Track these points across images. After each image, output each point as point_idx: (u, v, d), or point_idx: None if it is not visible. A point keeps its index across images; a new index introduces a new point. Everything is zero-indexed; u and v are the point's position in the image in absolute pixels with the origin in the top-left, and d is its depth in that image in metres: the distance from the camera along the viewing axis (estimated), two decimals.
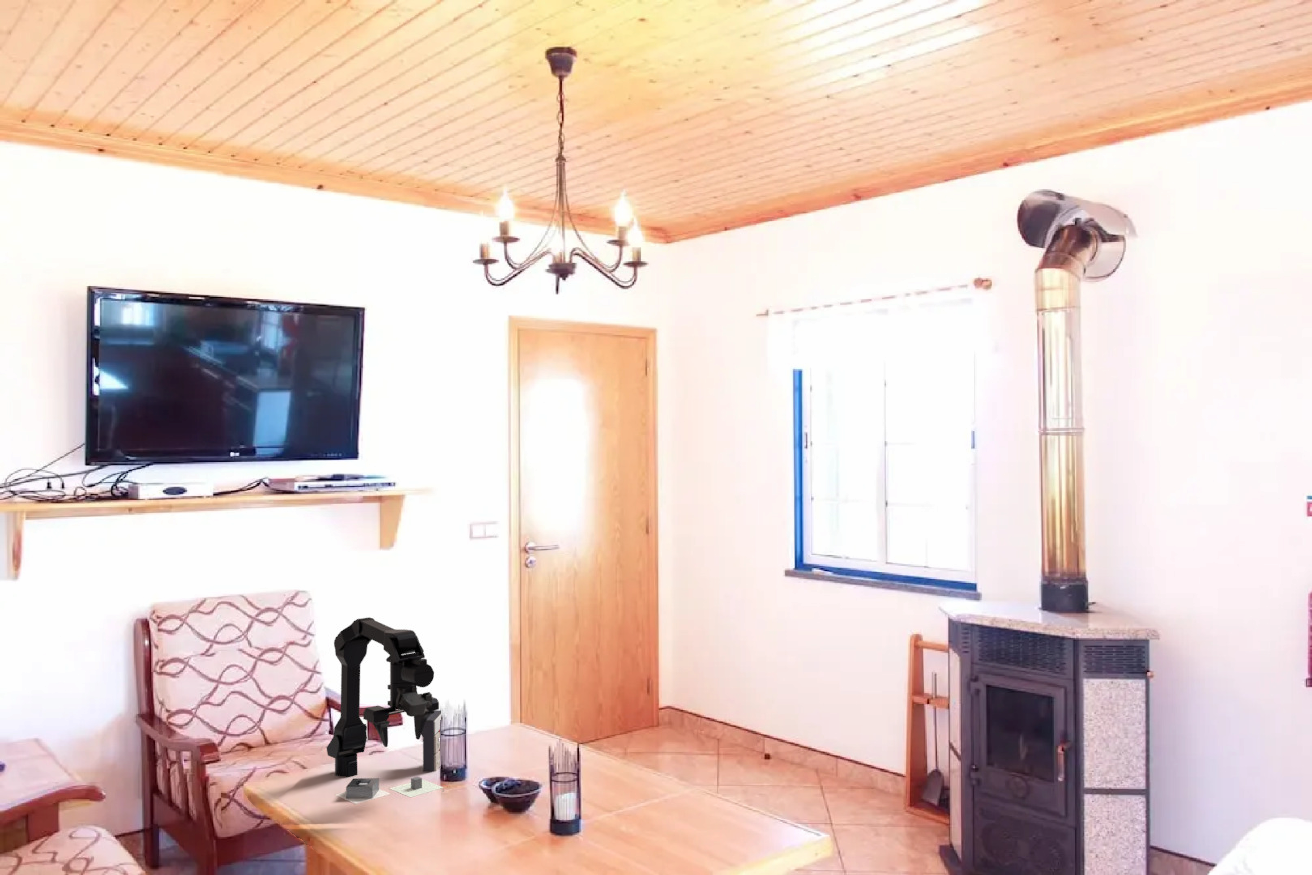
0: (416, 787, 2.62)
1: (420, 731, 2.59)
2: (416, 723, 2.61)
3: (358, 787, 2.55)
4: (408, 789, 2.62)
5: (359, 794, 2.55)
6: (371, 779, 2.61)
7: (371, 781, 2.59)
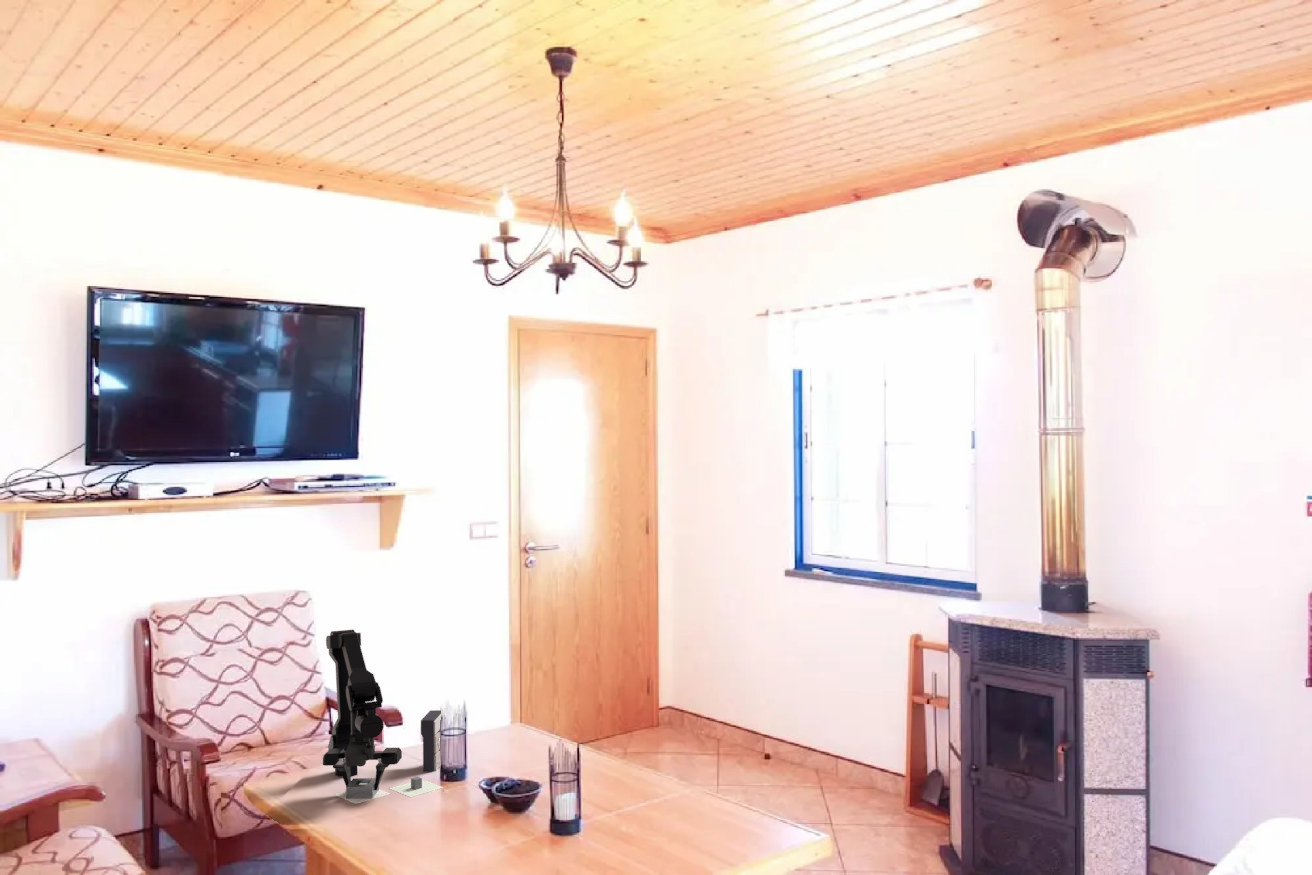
0: (416, 787, 2.62)
1: (376, 782, 2.58)
2: None
3: (358, 787, 2.55)
4: (408, 789, 2.62)
5: (359, 794, 2.55)
6: (371, 779, 2.61)
7: (371, 781, 2.59)
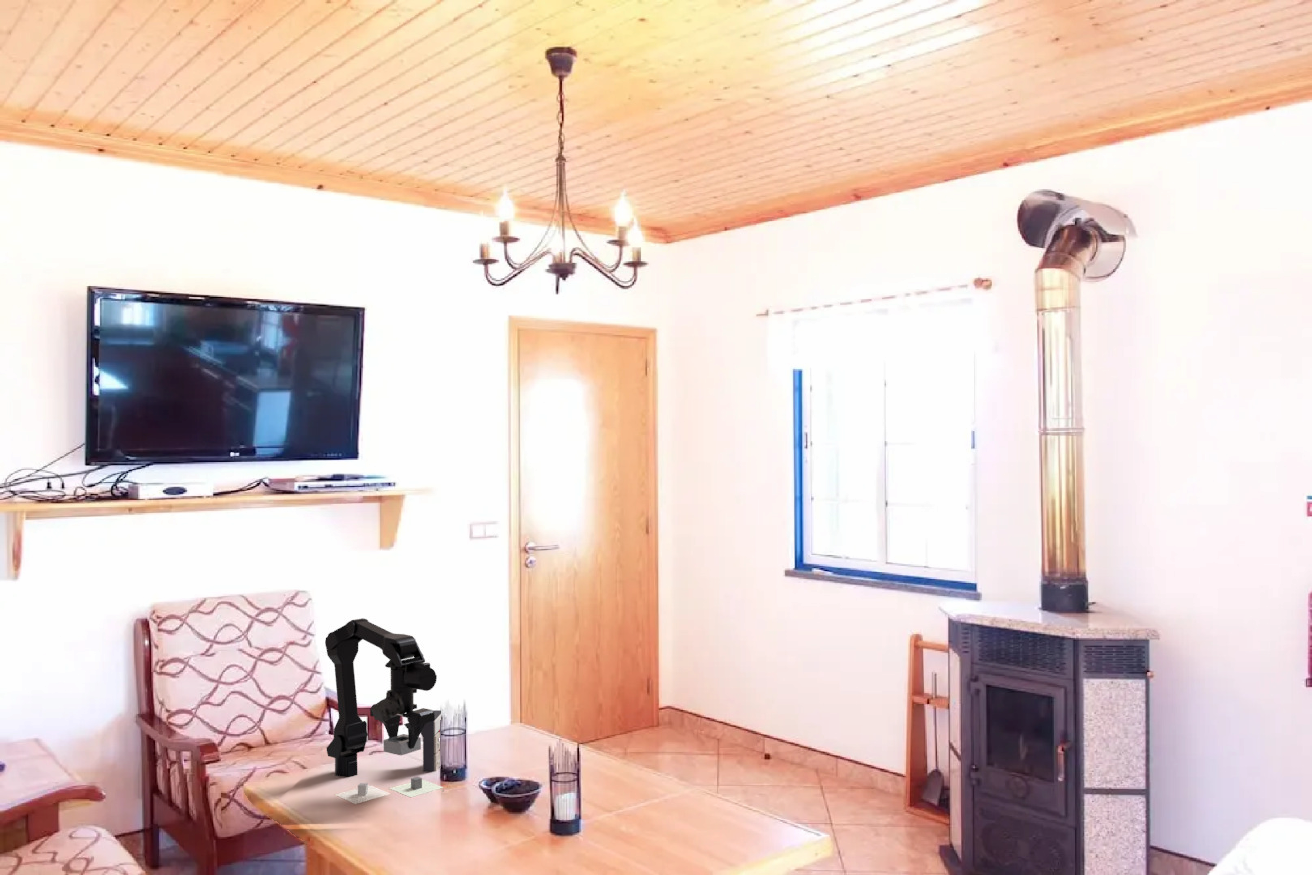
0: (416, 787, 2.62)
1: (409, 741, 2.59)
2: None
3: (391, 742, 2.59)
4: (408, 789, 2.62)
5: (392, 749, 2.59)
6: None
7: None
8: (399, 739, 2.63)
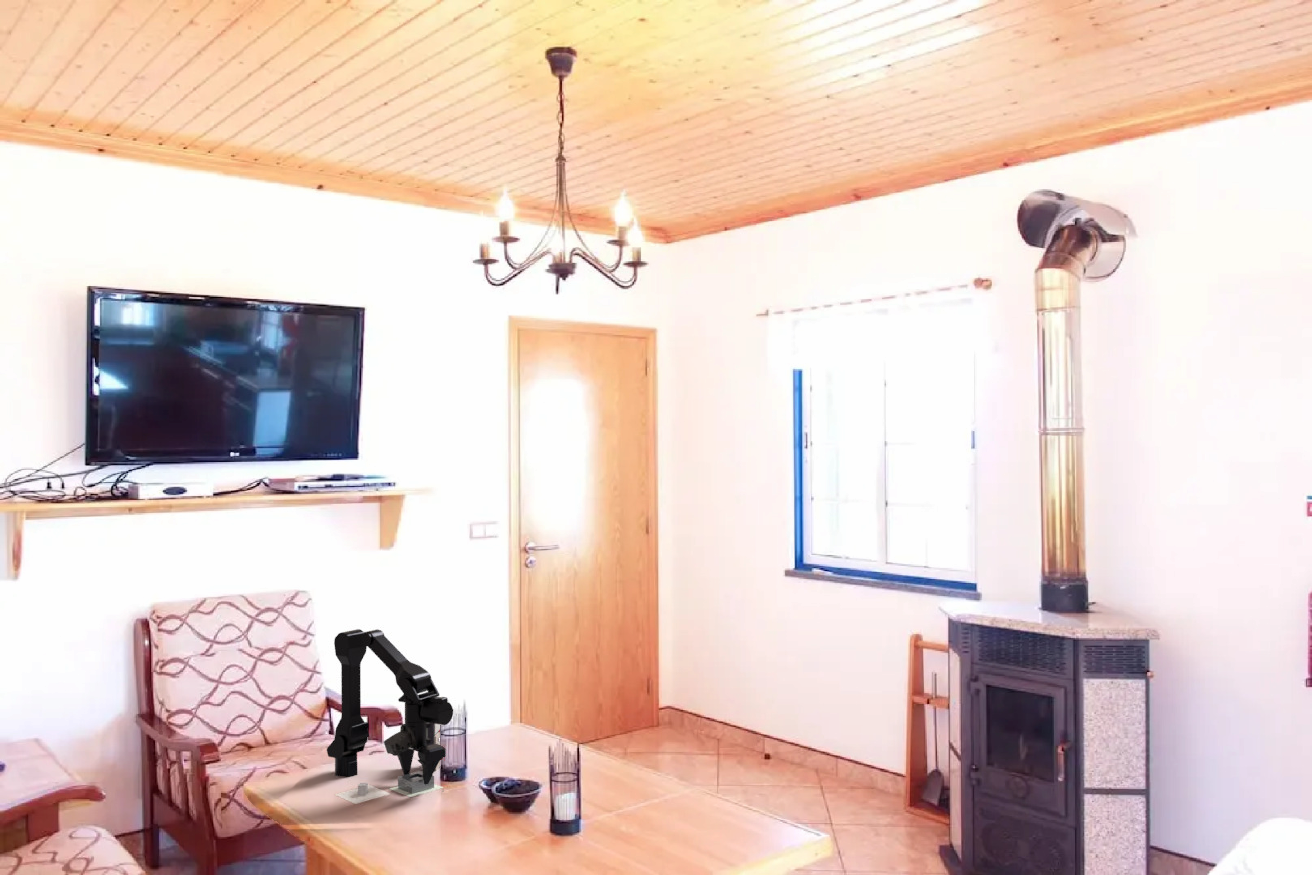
0: None
1: (423, 776, 2.59)
2: None
3: (404, 780, 2.61)
4: None
5: (405, 787, 2.61)
6: None
7: (422, 777, 2.62)
8: (414, 776, 2.65)
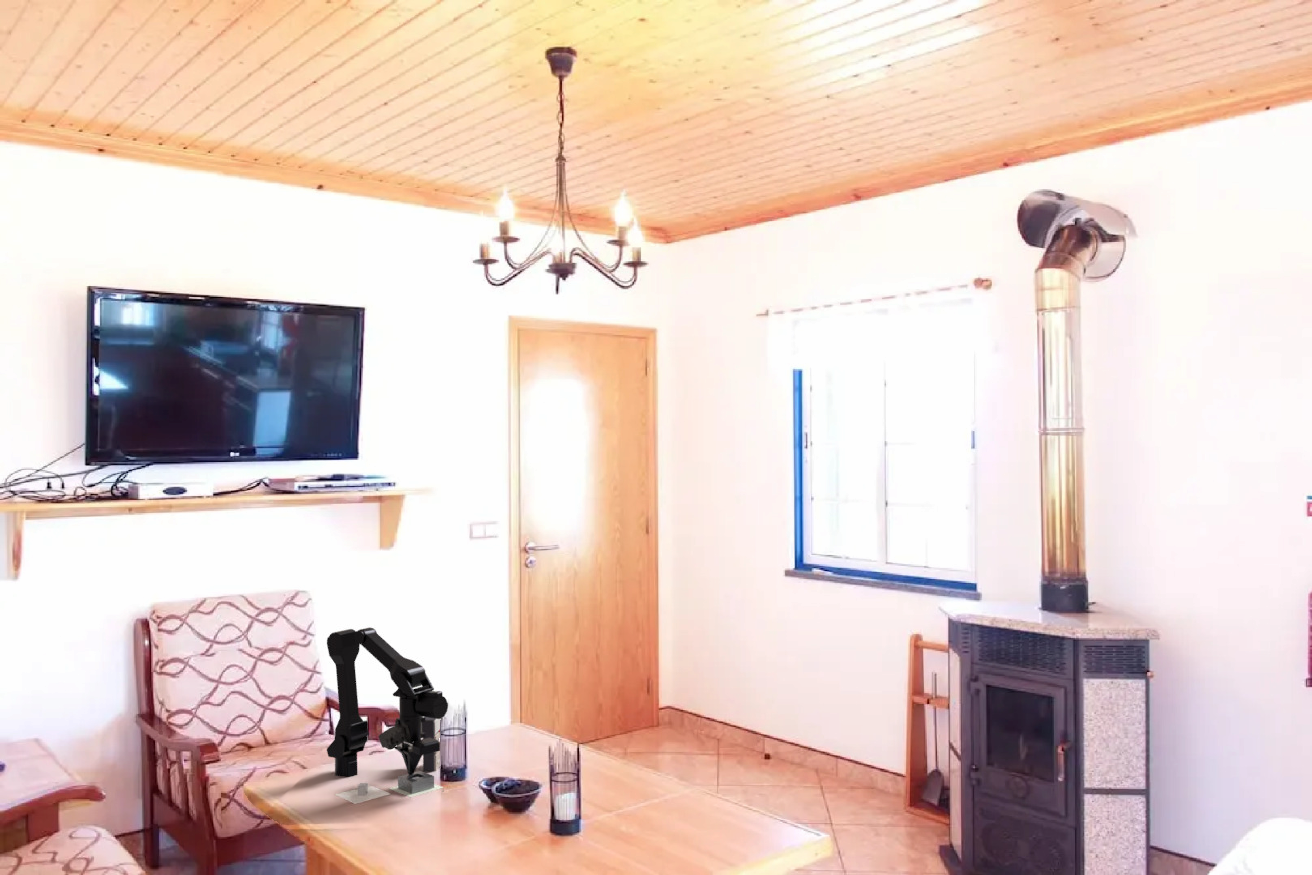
0: None
1: (408, 767, 2.64)
2: None
3: (404, 780, 2.61)
4: None
5: (405, 787, 2.61)
6: (427, 775, 2.64)
7: (422, 777, 2.62)
8: (414, 776, 2.65)
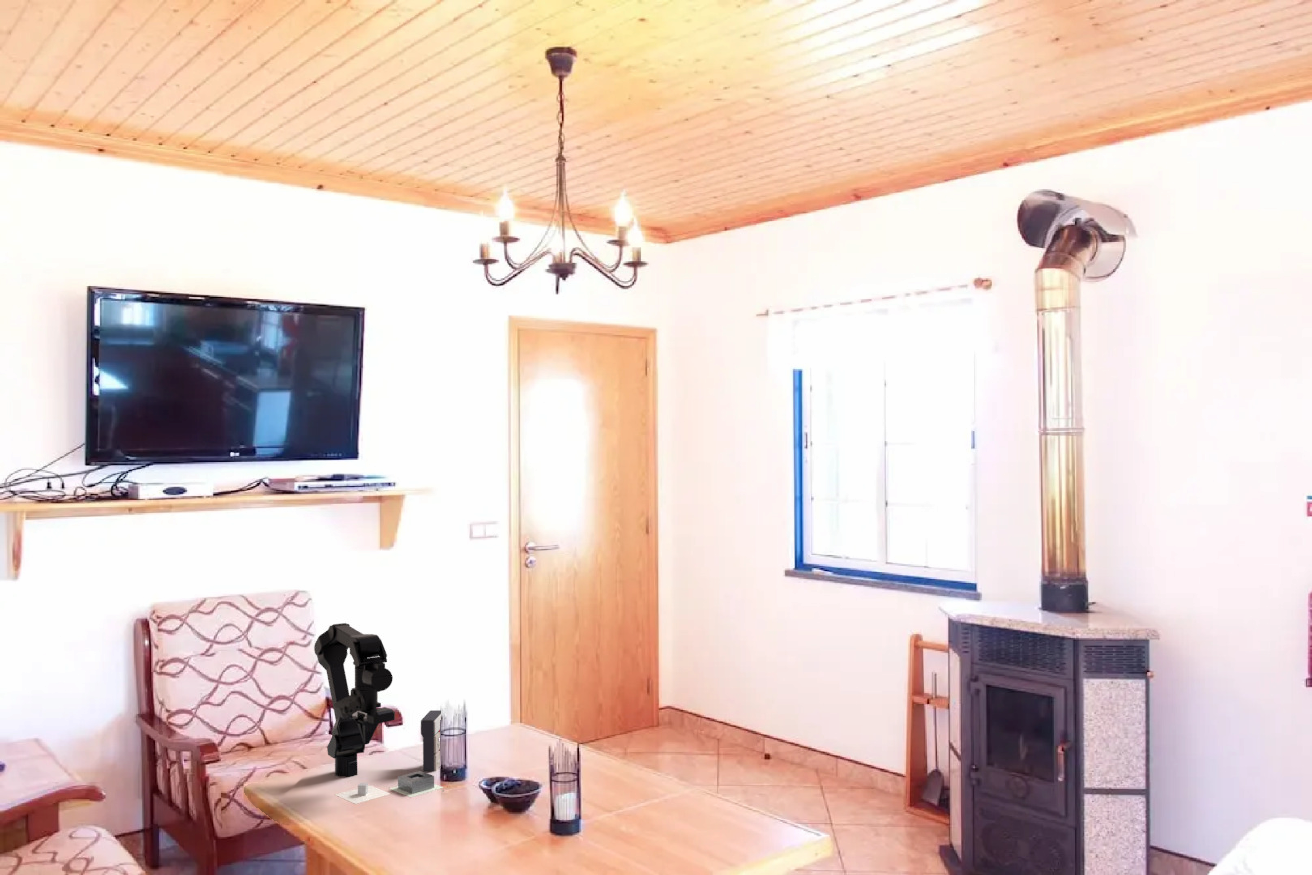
0: None
1: (364, 736, 2.64)
2: None
3: (404, 780, 2.61)
4: None
5: (405, 787, 2.61)
6: (427, 775, 2.64)
7: (422, 777, 2.62)
8: (414, 776, 2.65)
